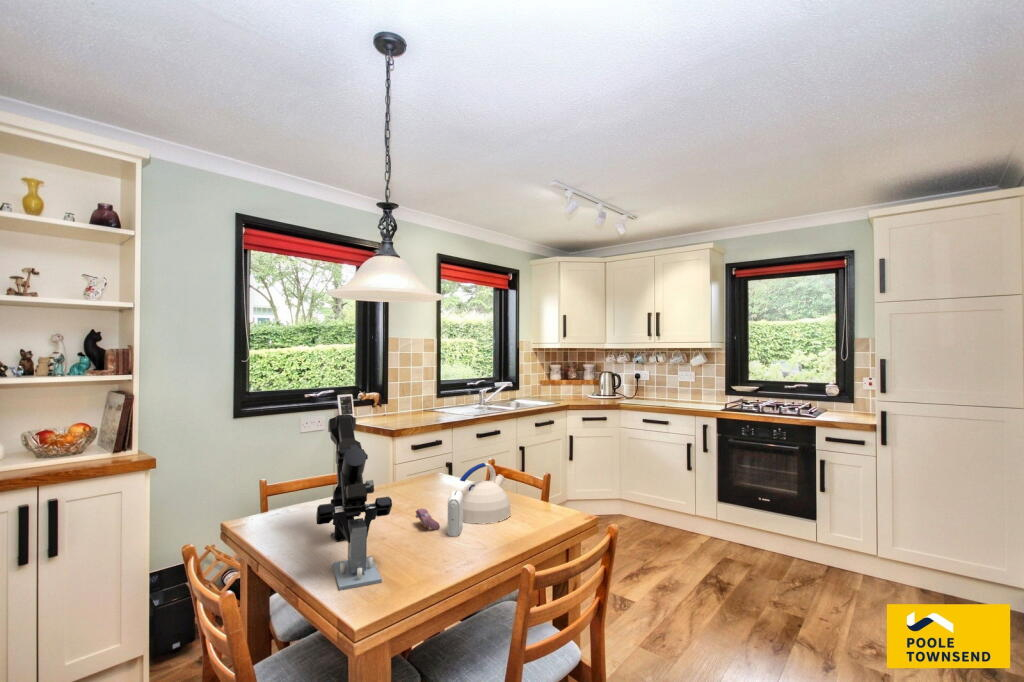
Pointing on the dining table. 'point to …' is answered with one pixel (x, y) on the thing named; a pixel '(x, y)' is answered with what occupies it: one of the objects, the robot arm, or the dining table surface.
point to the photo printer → (455, 513)
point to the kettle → (484, 498)
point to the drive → (357, 545)
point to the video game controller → (427, 519)
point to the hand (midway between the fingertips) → (357, 541)
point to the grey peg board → (356, 574)
